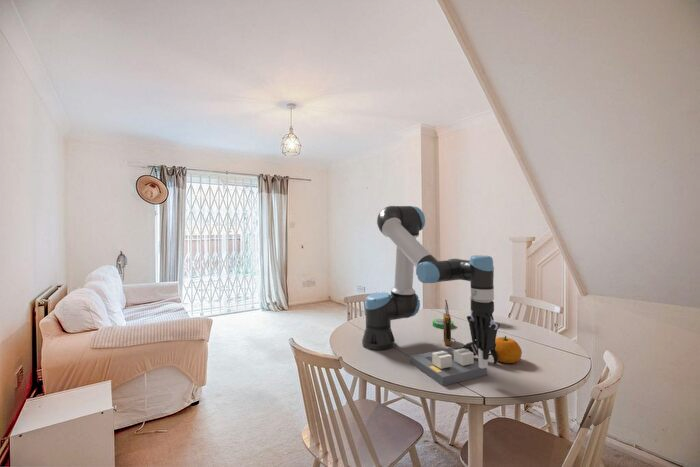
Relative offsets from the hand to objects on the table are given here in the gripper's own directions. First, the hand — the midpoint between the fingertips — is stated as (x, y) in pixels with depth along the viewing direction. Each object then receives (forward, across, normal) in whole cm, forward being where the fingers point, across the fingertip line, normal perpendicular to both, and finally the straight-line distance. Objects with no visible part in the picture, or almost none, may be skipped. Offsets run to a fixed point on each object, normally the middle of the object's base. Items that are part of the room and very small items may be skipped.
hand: (483, 367), depth 112 cm
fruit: (+6, -11, +22) cm, 26 cm away
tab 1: (+2, -11, -9) cm, 14 cm away
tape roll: (+5, -58, +28) cm, 65 cm away
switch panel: (+5, -14, -4) cm, 15 cm away
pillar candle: (+5, -56, +52) cm, 77 cm away
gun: (+6, -16, +12) cm, 21 cm away
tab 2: (+2, -10, 0) cm, 10 cm away
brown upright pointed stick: (+5, -34, +16) cm, 38 cm away
